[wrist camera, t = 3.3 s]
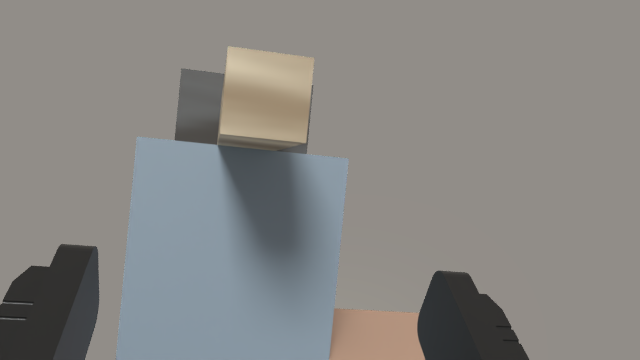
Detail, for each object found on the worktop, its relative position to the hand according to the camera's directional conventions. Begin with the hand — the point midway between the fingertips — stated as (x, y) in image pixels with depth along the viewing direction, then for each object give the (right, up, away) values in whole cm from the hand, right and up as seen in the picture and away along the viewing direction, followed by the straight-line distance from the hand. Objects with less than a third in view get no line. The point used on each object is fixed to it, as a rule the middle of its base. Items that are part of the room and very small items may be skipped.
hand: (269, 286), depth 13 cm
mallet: (-3, +4, +16) cm, 17 cm away
